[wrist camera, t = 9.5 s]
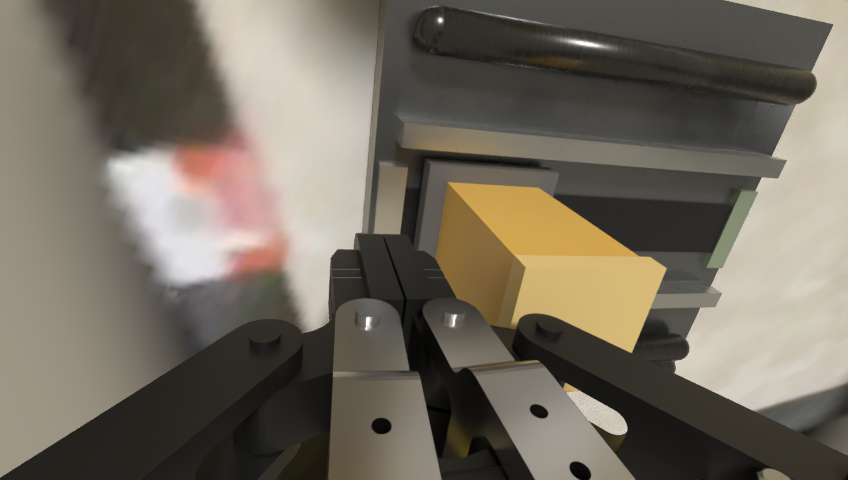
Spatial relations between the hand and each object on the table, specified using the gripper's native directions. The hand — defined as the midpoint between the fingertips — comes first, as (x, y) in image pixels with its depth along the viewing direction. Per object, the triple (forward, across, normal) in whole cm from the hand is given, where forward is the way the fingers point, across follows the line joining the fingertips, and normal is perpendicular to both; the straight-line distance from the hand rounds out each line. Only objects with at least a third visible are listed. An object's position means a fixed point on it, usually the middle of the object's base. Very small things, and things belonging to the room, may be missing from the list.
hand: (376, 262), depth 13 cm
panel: (+5, -9, 0) cm, 11 cm away
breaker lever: (+4, -4, 0) cm, 6 cm away
